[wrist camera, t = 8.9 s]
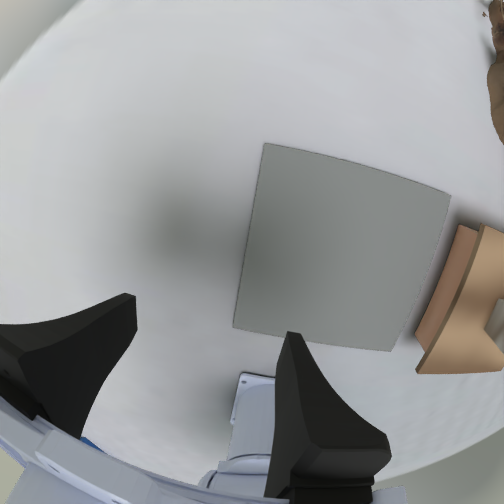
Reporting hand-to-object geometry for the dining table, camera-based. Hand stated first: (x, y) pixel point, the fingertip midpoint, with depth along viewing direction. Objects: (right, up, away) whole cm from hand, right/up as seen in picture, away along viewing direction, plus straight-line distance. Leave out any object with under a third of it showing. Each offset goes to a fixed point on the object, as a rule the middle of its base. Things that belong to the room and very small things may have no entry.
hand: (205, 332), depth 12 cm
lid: (+23, -2, +4) cm, 24 cm away
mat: (+9, +3, +9) cm, 13 cm away
